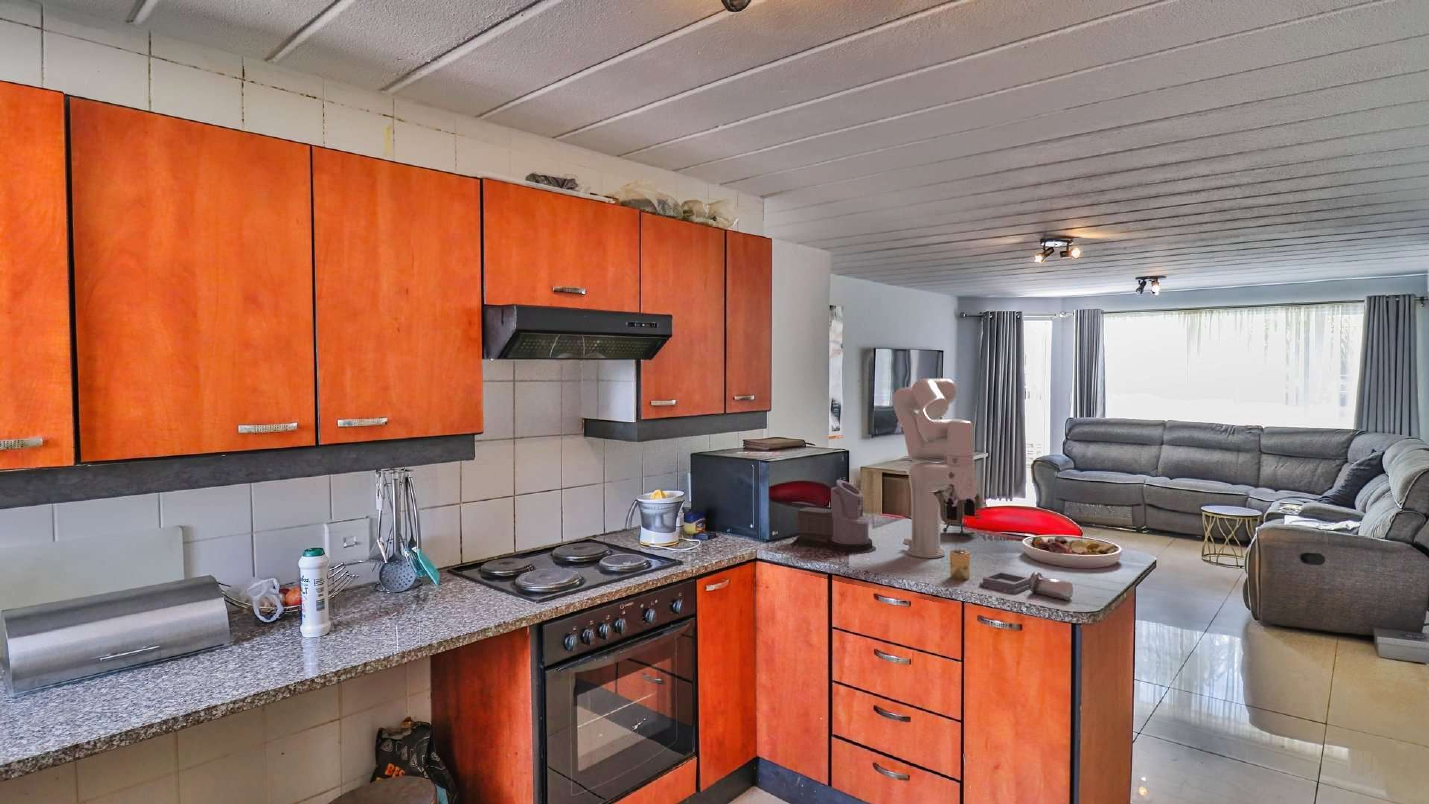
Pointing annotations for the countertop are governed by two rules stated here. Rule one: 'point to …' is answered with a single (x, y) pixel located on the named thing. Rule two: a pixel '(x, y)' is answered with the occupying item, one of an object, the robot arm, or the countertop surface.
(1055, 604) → the countertop surface
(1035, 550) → the bowl
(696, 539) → the countertop surface
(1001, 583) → the grey square tray
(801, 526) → the juicer
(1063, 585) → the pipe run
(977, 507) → the tabletop clock
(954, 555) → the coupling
